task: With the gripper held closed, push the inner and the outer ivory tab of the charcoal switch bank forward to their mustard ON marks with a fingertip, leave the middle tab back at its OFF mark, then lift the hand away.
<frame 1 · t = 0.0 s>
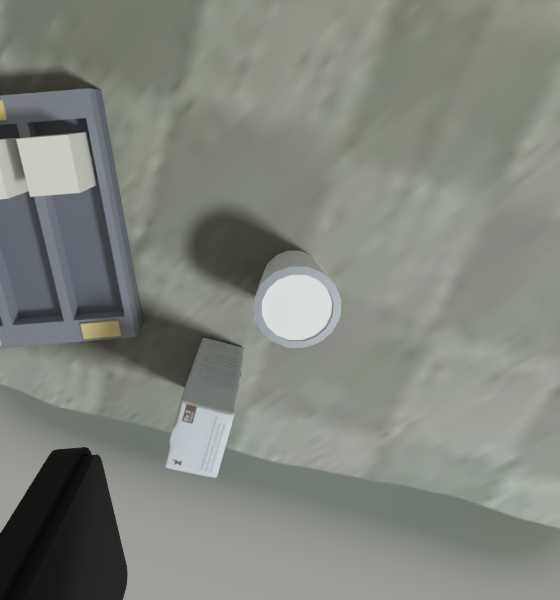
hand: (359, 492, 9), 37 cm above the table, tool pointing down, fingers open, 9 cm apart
tab inner: (60, 163, 39), point 4 cm above the table, slide at 0.0 cm
skincare box: (215, 365, 50), on the table
grey cylinder: (293, 279, 47), on the table
switch bank: (30, 223, 44), on the table
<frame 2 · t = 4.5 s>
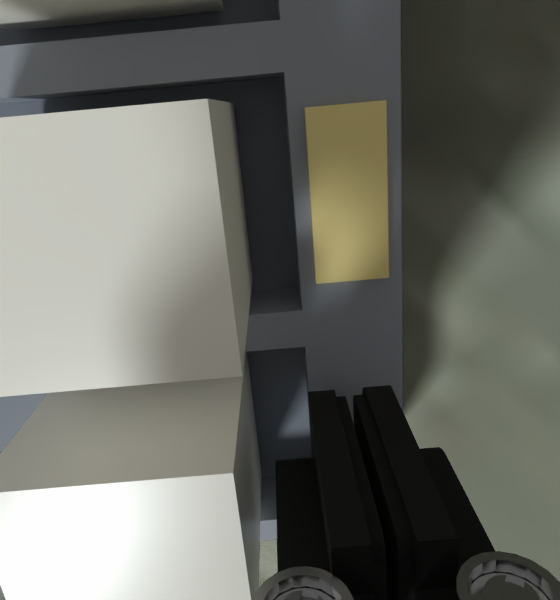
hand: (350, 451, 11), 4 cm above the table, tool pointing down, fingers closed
tab inner: (152, 481, 11), point 4 cm above the table, slide at 0.3 cm, touching gripper
tab middle: (118, 226, 9), point 4 cm above the table, slide at 0.0 cm
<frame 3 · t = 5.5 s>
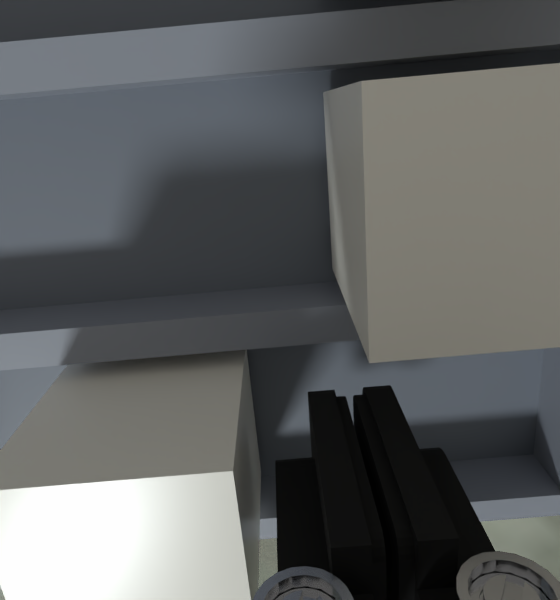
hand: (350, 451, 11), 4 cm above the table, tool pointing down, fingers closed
tab inner: (151, 479, 11), point 4 cm above the table, slide at 6.1 cm, touching gripper
switch bank: (195, 186, 12), on the table
tab middle: (462, 193, 9), point 4 cm above the table, slide at 0.0 cm
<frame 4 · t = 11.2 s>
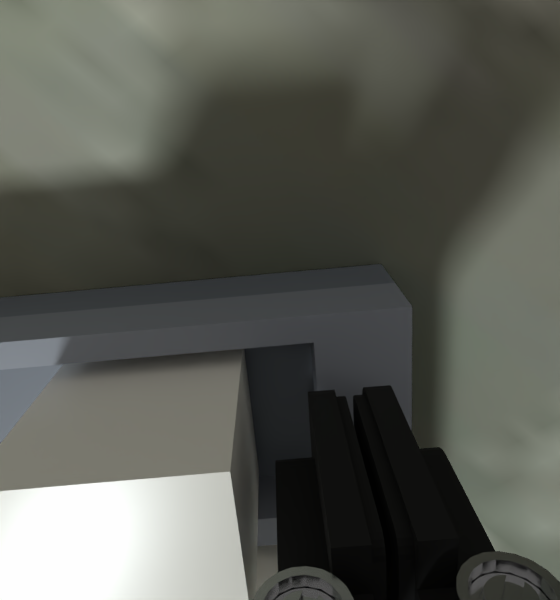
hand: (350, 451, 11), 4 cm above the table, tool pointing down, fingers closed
switch bank: (61, 541, 16), on the table
tab outer: (148, 480, 10), point 4 cm above the table, slide at 0.5 cm, touching gripper
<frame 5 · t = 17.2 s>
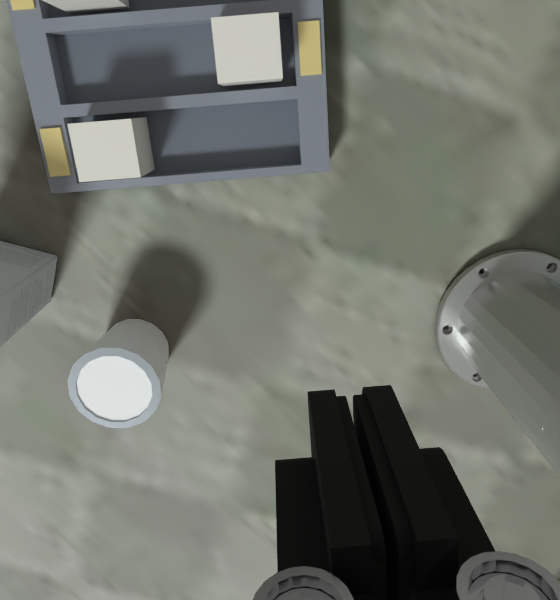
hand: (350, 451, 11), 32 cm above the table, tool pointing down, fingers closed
tab inner: (114, 148, 35), point 4 cm above the table, slide at 9.6 cm
skincare box: (22, 266, 42), on the table
grey cylinder: (137, 347, 45), on the table
switch bank: (180, 63, 37), on the table
tab middle: (248, 52, 33), point 4 cm above the table, slide at 0.0 cm
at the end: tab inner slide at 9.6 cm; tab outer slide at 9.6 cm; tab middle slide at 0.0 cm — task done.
